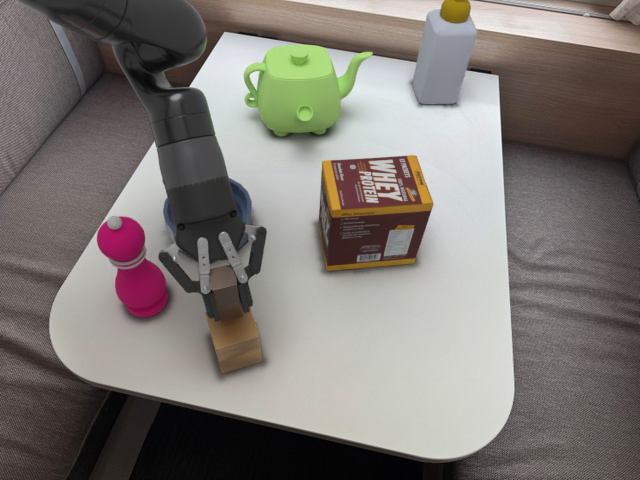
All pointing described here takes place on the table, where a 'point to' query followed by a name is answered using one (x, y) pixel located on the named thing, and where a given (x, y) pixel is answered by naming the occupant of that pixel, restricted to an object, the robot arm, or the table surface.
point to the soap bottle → (444, 53)
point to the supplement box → (372, 211)
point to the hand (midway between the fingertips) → (232, 314)
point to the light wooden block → (236, 342)
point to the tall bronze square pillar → (226, 292)
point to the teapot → (299, 88)
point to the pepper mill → (132, 266)
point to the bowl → (242, 206)
